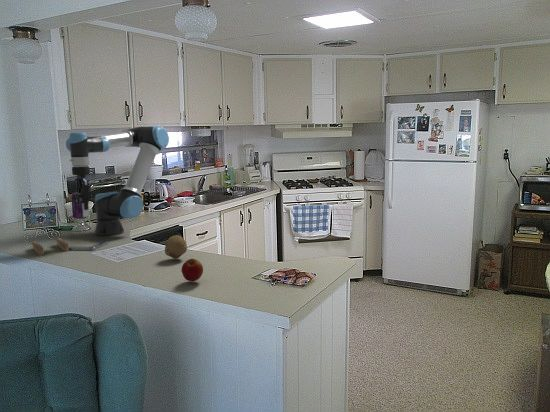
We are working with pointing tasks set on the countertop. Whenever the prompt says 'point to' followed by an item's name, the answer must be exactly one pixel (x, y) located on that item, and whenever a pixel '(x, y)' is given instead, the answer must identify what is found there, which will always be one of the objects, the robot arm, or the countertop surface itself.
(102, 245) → the hinge
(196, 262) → the apple
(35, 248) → the guide channel
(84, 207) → the robot arm
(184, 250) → the natural sponge
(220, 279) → the countertop surface
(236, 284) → the countertop surface
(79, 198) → the beverage can
